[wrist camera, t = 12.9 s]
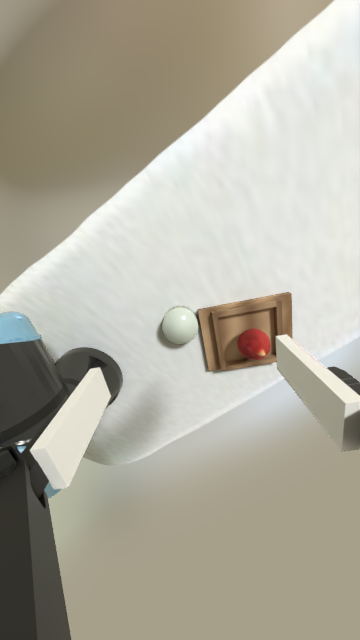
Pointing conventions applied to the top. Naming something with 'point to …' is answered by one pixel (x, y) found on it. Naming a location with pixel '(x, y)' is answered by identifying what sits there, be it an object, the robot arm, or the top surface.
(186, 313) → the pale green dome
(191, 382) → the top surface
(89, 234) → the top surface
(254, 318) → the tray
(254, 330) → the onion
